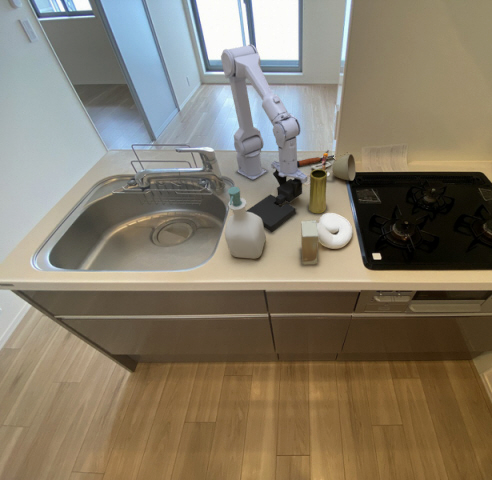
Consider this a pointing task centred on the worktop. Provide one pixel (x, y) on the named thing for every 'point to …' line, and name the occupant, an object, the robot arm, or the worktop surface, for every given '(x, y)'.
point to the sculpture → (334, 230)
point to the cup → (344, 167)
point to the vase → (318, 191)
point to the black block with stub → (286, 193)
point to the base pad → (272, 212)
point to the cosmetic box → (309, 241)
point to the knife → (310, 161)
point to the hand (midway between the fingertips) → (289, 192)
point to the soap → (319, 166)
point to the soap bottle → (243, 229)
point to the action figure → (325, 162)
